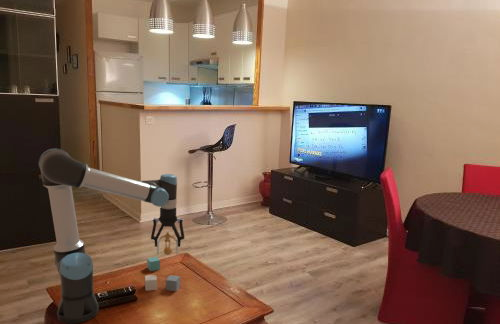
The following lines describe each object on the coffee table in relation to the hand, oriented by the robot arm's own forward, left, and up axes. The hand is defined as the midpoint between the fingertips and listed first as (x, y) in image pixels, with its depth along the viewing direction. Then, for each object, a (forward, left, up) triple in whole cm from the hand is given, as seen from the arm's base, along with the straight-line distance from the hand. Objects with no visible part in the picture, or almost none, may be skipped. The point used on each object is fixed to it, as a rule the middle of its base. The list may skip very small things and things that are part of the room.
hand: (167, 252), depth 190 cm
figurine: (0, 0, -1) cm, 1 cm away
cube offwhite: (-7, -10, -13) cm, 17 cm away
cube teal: (-8, +10, -13) cm, 18 cm away
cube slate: (+3, -11, -13) cm, 17 cm away
